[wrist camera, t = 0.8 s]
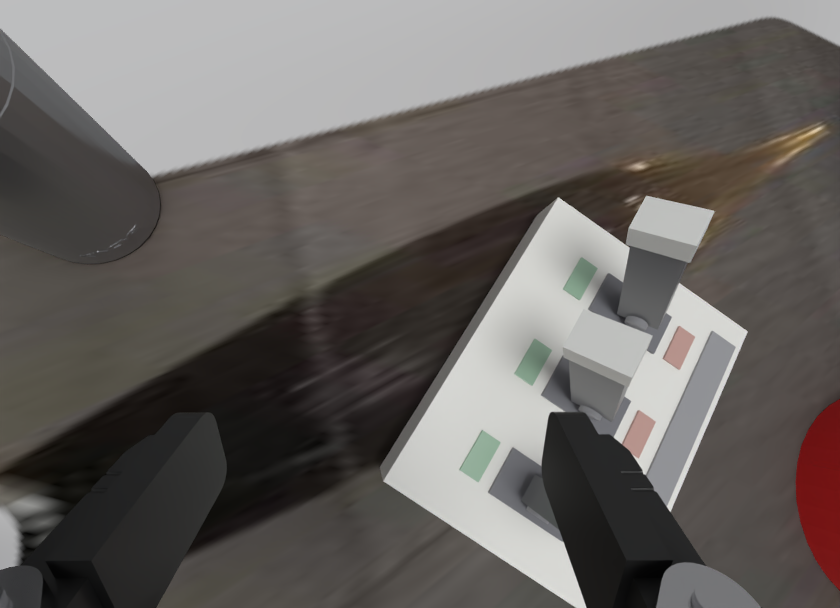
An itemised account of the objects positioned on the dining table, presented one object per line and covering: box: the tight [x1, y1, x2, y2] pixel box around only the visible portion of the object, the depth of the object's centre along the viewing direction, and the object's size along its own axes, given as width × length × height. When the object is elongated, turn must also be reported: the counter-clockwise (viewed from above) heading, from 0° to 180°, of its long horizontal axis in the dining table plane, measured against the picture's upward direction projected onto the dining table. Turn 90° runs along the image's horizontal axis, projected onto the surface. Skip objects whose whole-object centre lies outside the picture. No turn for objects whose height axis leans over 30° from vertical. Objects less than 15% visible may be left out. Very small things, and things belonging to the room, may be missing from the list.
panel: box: [380, 198, 748, 608], centre depth 33 cm, size 20×26×4 cm
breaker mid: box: [563, 309, 653, 422], centre depth 25 cm, size 3×3×12 cm
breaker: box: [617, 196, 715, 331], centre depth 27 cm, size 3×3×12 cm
